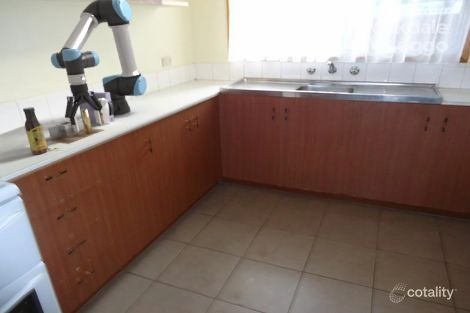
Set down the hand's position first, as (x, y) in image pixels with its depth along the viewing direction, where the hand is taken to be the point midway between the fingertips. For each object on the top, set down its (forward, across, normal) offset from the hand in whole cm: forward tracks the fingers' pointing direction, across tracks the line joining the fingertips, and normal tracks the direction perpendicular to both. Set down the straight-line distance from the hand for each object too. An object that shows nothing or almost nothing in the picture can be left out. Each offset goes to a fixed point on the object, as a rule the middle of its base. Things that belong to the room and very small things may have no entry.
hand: (88, 127), depth 159 cm
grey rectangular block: (+3, -8, +9) cm, 12 cm away
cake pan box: (+5, +20, +15) cm, 26 cm away
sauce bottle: (+5, -24, +4) cm, 25 cm away
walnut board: (+5, -4, +5) cm, 8 cm away
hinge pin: (+3, 0, 0) cm, 3 cm away
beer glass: (+5, +16, +6) cm, 18 cm away
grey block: (+3, -2, +9) cm, 10 cm away
